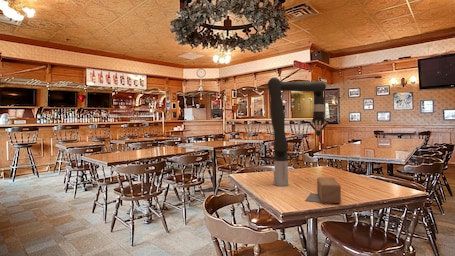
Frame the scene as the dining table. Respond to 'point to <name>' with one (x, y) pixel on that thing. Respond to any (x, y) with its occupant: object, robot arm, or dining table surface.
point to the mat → (314, 198)
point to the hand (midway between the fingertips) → (318, 136)
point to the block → (328, 190)
